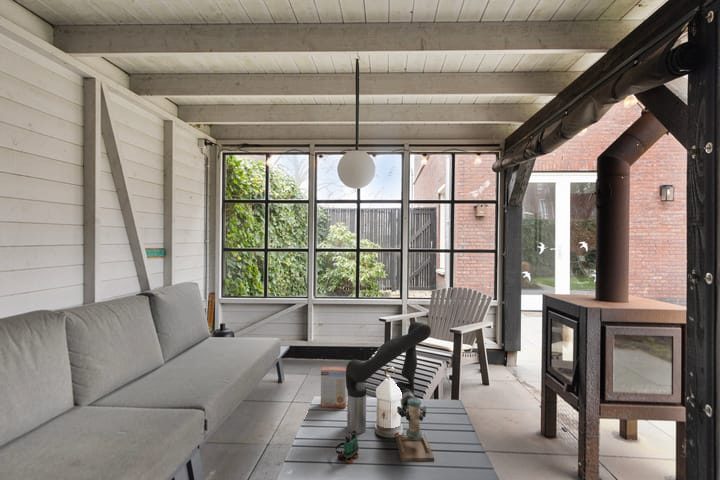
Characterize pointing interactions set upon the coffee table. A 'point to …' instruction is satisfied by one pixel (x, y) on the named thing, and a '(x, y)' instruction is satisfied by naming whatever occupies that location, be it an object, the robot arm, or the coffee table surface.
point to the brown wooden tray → (414, 449)
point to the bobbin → (414, 419)
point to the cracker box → (333, 387)
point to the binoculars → (349, 448)
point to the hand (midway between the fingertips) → (415, 418)
